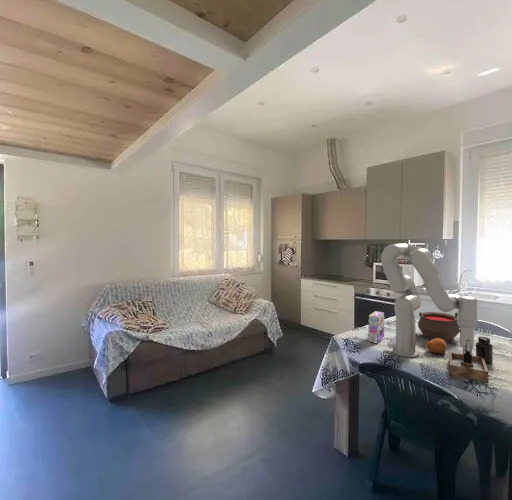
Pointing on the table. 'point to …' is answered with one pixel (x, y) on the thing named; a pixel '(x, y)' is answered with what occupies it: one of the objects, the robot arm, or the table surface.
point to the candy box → (376, 326)
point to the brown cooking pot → (439, 325)
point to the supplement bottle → (484, 349)
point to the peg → (465, 362)
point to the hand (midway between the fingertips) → (467, 360)
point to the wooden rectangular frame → (474, 372)
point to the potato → (436, 345)
